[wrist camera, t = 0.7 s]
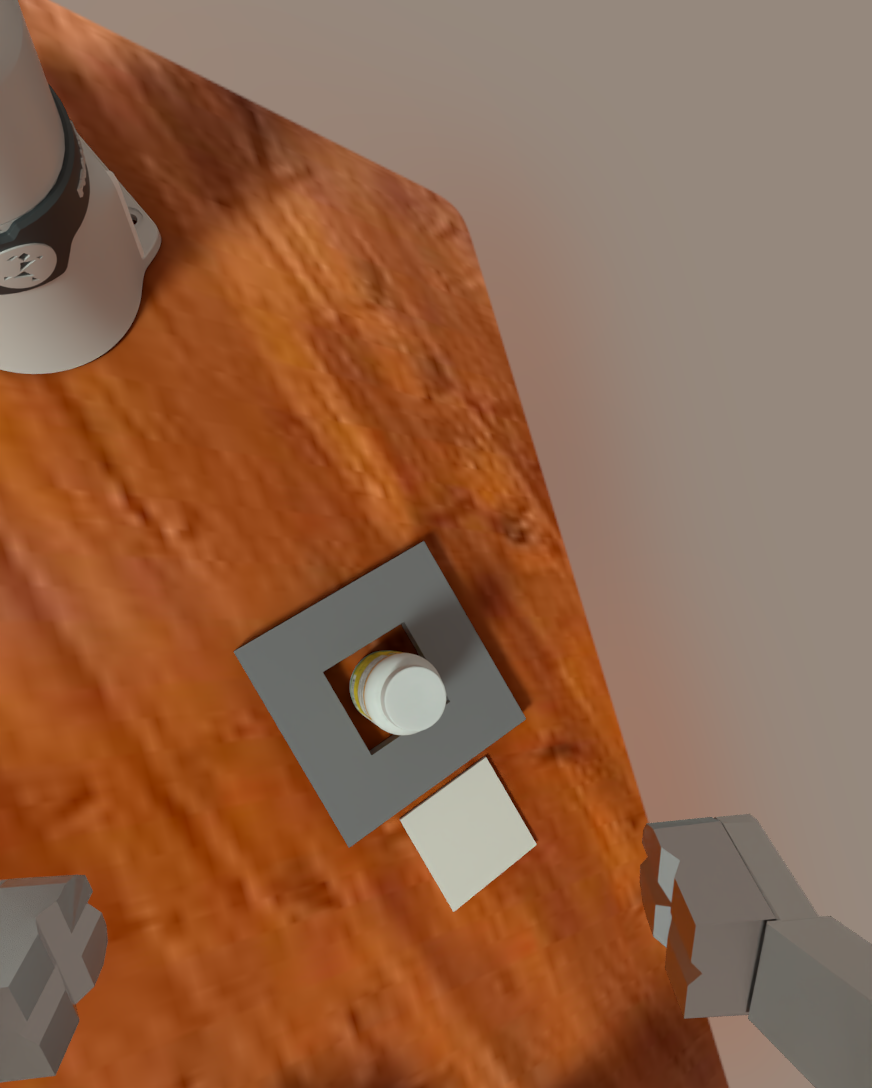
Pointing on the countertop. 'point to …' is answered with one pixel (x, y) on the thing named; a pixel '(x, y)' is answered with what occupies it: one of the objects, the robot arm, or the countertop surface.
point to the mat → (468, 833)
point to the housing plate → (321, 721)
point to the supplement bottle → (398, 691)
